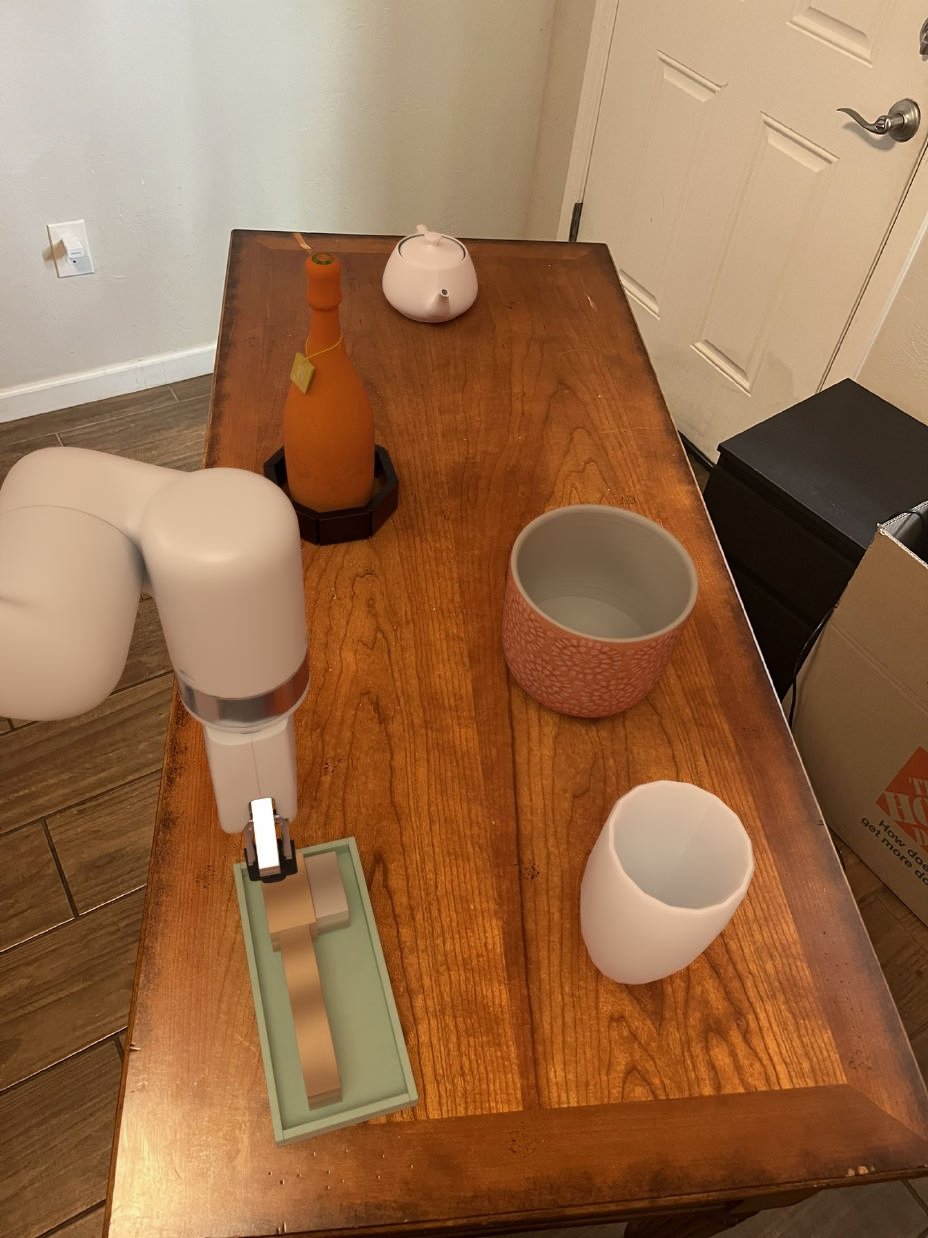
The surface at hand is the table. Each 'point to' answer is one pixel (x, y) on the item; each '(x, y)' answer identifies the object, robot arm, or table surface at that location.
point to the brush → (309, 962)
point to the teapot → (430, 277)
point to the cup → (662, 880)
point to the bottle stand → (344, 521)
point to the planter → (595, 607)
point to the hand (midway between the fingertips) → (266, 810)
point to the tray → (329, 1011)
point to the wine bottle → (327, 407)
